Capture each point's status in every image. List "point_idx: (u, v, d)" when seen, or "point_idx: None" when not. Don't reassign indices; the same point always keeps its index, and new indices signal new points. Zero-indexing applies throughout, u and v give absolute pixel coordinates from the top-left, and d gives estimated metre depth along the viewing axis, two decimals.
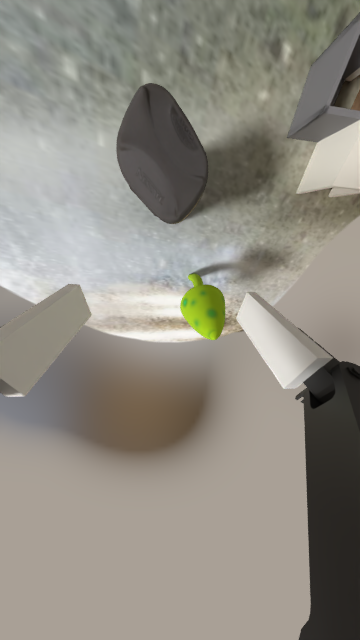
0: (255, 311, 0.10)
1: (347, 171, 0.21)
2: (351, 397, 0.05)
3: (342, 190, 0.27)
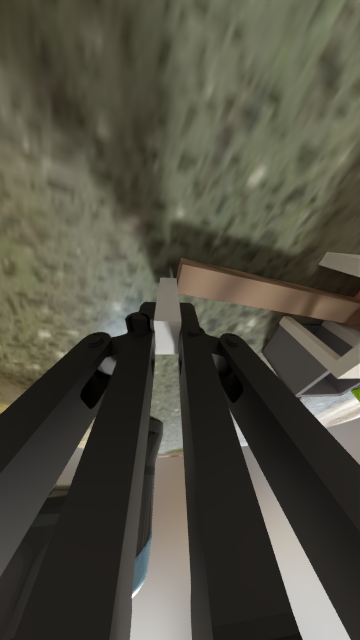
0: None
1: None
2: (186, 357, 0.05)
3: None
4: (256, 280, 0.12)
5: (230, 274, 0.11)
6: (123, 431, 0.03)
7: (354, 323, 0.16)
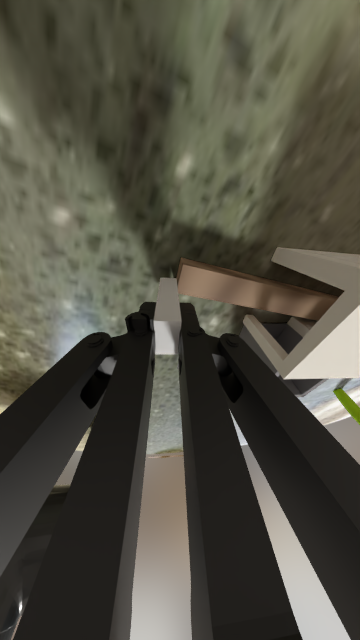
0: None
1: None
2: (186, 357, 0.05)
3: None
4: (256, 281, 0.12)
5: (230, 275, 0.11)
6: (122, 431, 0.03)
7: None
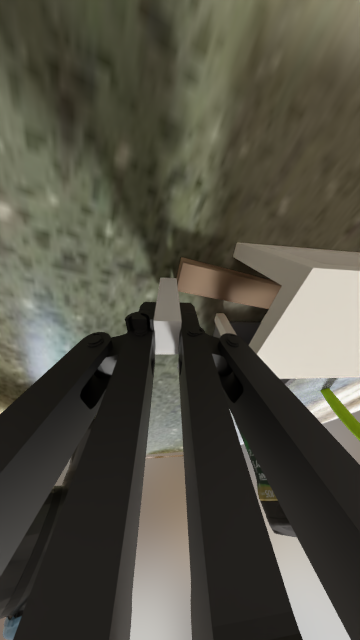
0: None
1: None
2: (186, 358, 0.05)
3: None
4: (254, 279, 0.12)
5: (229, 273, 0.12)
6: (122, 431, 0.03)
7: None
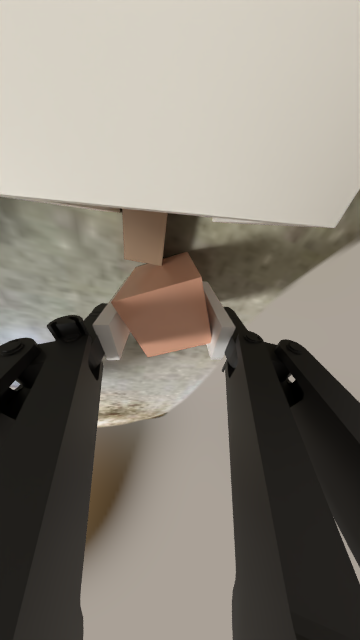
0: None
1: None
2: (245, 361, 0.05)
3: None
4: None
5: None
6: (41, 446, 0.03)
7: (127, 252, 0.09)
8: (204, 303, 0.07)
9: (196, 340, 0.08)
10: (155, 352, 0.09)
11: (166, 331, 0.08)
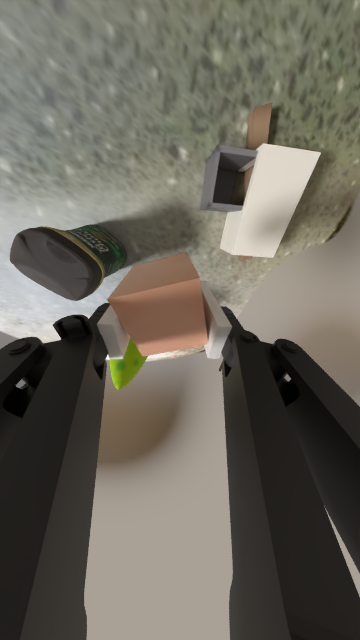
0: None
1: (241, 245, 0.26)
2: (241, 361, 0.05)
3: None
4: None
5: None
6: (47, 444, 0.03)
7: (243, 258, 0.33)
8: (201, 304, 0.07)
9: (192, 341, 0.08)
10: (150, 352, 0.09)
11: (162, 331, 0.08)
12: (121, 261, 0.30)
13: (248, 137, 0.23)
